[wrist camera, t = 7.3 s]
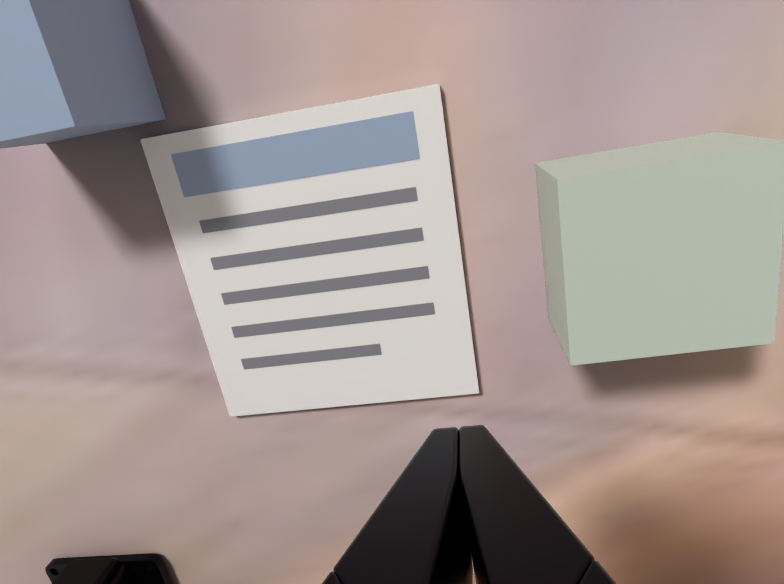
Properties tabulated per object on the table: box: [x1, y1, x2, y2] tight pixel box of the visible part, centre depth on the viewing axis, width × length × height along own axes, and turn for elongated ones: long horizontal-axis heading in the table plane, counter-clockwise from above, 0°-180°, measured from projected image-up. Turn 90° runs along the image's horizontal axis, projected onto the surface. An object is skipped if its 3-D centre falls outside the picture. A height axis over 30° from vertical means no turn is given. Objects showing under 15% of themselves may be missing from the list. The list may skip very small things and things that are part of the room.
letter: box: [140, 84, 479, 417], centre depth 20 cm, size 12×11×1 cm
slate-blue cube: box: [0, 0, 166, 148], centre depth 16 cm, size 5×5×5 cm
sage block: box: [535, 132, 784, 366], centre depth 17 cm, size 6×6×4 cm
